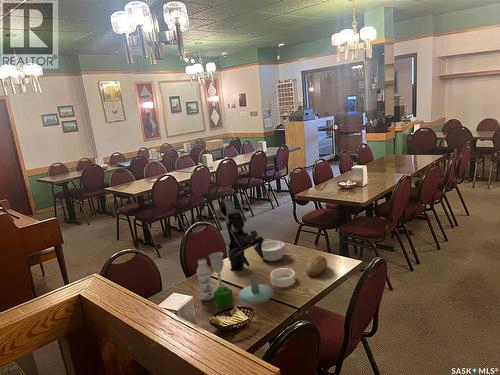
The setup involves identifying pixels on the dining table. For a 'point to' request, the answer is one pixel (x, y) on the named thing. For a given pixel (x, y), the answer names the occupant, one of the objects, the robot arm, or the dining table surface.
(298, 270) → the dining table surface
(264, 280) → the dining table surface
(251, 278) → the lid
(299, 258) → the dining table surface
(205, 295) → the plastic bottle
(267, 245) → the paper bowls
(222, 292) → the bell pepper
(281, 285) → the bowl
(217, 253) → the chalice
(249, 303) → the mat
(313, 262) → the bread roll
